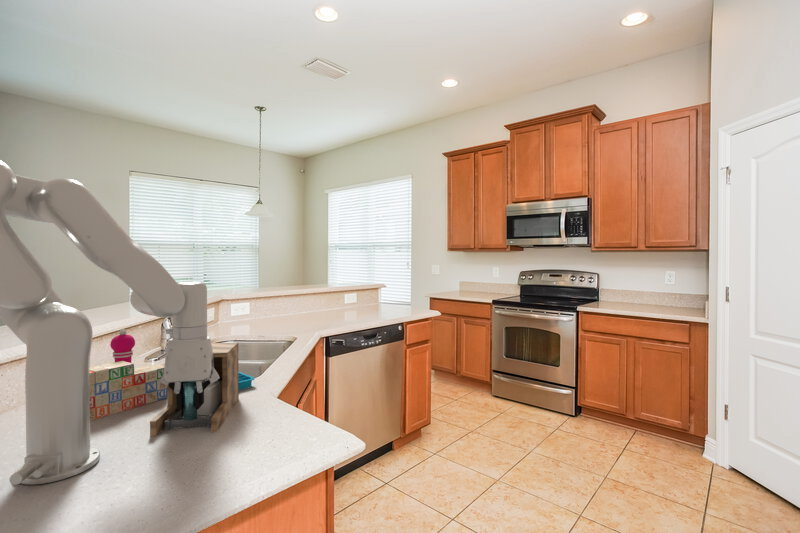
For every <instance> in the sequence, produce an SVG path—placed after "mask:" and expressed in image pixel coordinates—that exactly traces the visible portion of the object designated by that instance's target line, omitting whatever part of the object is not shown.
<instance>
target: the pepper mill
mask: <svg viewBox="0 0 800 533" xmlns="http://www.w3.org/2000/svg"><path fill="white" fill-rule="evenodd" d="M109 345H110V348H111V350H113V352H112V358H113V359H114V362H119V361H125V362H129V363H132V358H133V357H132V356H133V355H134V350H133V349H134V348H135V345H136V340H135V337H133V336H132V335H130V334H127V330H126V329H124V328H122V329H120V330H119V331H118V335H116V336H114V337H112V339H111V340H110V344H109Z"/></svg>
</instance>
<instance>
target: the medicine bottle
mask: <svg viewBox="0 0 800 533" xmlns="http://www.w3.org/2000/svg"><path fill="white" fill-rule="evenodd" d="M214 368H215V370H216V367H215V366H214ZM210 378H211V375H210V377H209V378H208V379H210ZM208 379H207V380H208ZM205 381H206V380H205ZM221 402H222V381H215V382H213V383H212V384H210V385H208V386H207V387H206V388H205V389H204V403H203V405H202V406H201V407H200V408H199V409H197V416H211V415H212V413H213V412H214V411H215V409H216V408H217V407H218V405H219V404H220V403H221Z"/></svg>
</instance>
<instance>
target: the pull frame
mask: <svg viewBox="0 0 800 533" xmlns="http://www.w3.org/2000/svg"><path fill="white" fill-rule="evenodd" d="M196 392H197V385H196V381H192V382H183V409H182V410H178V409H177V410H176V411H175V412H174V413H173V414H172V415H171V416H170V417H169V418H168V419H167V420H166V421H165V427H164V430H165V431H166V430H167V431H168V430H170V429H171V430H172V429H185V428H187V429H188V428H203V427H204V428H205V427H208V428H211V418H212V416H213V415H214V414H215V412H216V411H217V410H218V408H219V407H220V405H221V404H222V402H221V403H220V404H219V405H218V407H217V408H216V409H215V411H214V412H213V413H212V414H211V415H204V416H198V415H197V410H196V409H195V393H196ZM182 416H183V417H182Z"/></svg>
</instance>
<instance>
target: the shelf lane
mask: <svg viewBox="0 0 800 533" xmlns="http://www.w3.org/2000/svg"><path fill="white" fill-rule="evenodd" d="M211 344H212V350H213V359H214V366H215V367H216V372H217V373H218V375H219V377H220V378H219V379H218V380H217V381H222V404H221V405H220V407H219V408H218V410H217V411H216V412H215V414H214V415H213V416H212V418H211V427H210V428H211V429H210V430H211V433H218V431H219V429H220V428H221V427H222V425H223V424H224V421H225V420H226V419H227V417H228V416H229V414H230V413H231V411H232V410H233V408H234V407H235V405H236V403H237V402H238V400H239V396H240V395H239V391H240V390H239V374H238V372H239V342H211ZM166 399H167V400H166V401H167V403H166V404H167V405H166V406H165V407H164V408H162V410H161V411H160V412H159V413H157V415H155V417H153V418H152V419H151V420H149V437H157V435H159V434H160V433H161V432H162V431H163V429H165V421H166V420H167V419H168V418H169V417H170V416H171V415H172V414H173V413H174V412H175V411H176V410H177V409H178V406H177V405H176V394H175V393H174V391H173V390H172V389H171V388H170V387H169V386H167V398H166Z"/></svg>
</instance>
